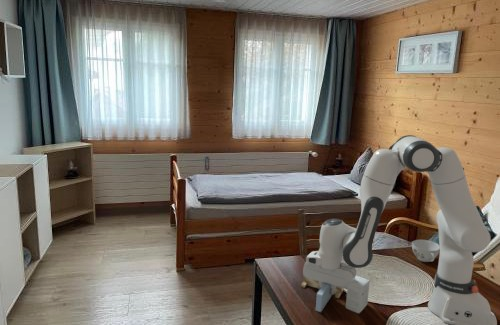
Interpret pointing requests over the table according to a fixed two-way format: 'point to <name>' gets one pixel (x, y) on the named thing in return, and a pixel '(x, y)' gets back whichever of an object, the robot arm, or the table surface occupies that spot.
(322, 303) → the blue slat
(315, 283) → the pine rail
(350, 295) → the small box
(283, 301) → the table surface
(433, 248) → the teacup
